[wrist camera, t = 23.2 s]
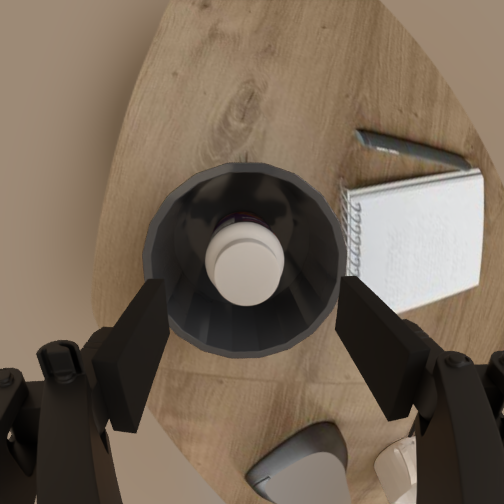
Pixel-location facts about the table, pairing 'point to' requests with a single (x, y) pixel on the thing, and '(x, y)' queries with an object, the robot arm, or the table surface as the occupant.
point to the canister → (290, 237)
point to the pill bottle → (244, 259)
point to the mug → (398, 471)
